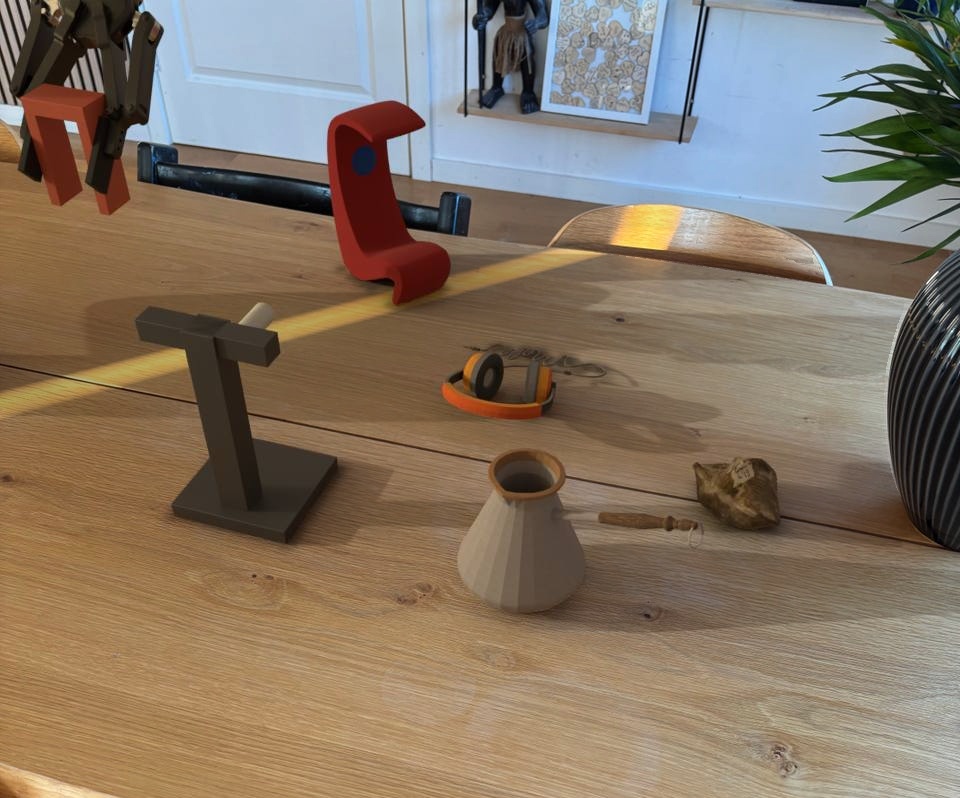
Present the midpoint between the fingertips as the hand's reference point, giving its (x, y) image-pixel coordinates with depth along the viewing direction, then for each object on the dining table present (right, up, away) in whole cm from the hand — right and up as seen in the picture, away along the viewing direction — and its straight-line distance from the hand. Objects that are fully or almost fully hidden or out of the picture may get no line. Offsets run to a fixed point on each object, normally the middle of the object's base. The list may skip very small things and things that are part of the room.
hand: (62, 182), depth 102 cm
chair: (+31, 0, +27) cm, 41 cm away
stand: (+20, -31, -1) cm, 37 cm away
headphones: (+46, -19, +10) cm, 51 cm away
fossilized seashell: (+67, -33, -2) cm, 75 cm away
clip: (+1, 0, +5) cm, 5 cm away
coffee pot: (+50, -43, -11) cm, 67 cm away
